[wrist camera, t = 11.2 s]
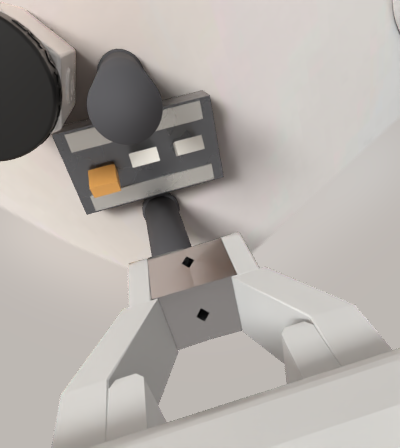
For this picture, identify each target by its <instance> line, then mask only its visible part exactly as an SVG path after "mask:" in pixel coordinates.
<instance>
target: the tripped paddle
mask: <svg viewBox="0 0 400 448" xmlns="http://www.w3.org/2000/svg"><path fill="white" fill-rule="evenodd" d="M88 177H89V188H90V190H91V192H92V194H93V196H94V198H97V197H100V196H104V195H108V194H111V193H115V192H119V191H121V186H120V181H119V175H118V172H117V169H116V167H115V164H110V165H107V166H103V167H99V168H95V169H92V170H88Z"/></svg>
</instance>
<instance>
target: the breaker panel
mask: <svg viewBox="0 0 400 448" xmlns="http://www.w3.org/2000/svg"><path fill="white" fill-rule="evenodd" d="M162 105H163V113H162V119H161V122H160V124H159V126H158V128H157V130H156V131H155V132H154V133H153V135H151V136H150V137H149V138H148V139H146V140H145V141H143V142H140V143H137V144H133V145H122V144H117V143H114V142H112V141H110V140H108V139H106V138H105V137H103V136H102V135H101V134H100V133H99V132H98V131H97V130H96V129H95V127H94V126H93V124H92V122H91V120H90V119H86V120H82V121H78V122H74V123H70V124H66V125H63V127H62V128H61V130H59V131H57V132H55V133H53V134H52V136H53V139H54V141H55V143H56V146H57V148H58V150H59V152H60V155H61V157H62V159H63V162H64V164H65V166H66V168H67V171H68V173H69V175H70V177H71V180H72V182H73V184H74V187H75V189H76V191H77V193H78V196H79V198H80V200H81V203H82V205H83V207H84V209H85V212H86V214H87V215H88V214H91V213H95V212H98V211H102V210H106V209H109V208H113V207H117V206H120V205H124V204H127V203H131V202H135V201H138V200H142V199H146V198H149V197H153V196H156V195H160V194H164V193H167V192H171V191H175V190H178V189H182V188H185V187H189V186H193V185H196V184H200V183H204V182H207V181H211V180H214V179H218V178H222V177H223V171H222V165H221V160H220V154H219V148H218V142H217V136H216V130H215V124H214V118H213V112H212V106H211V101H210V95H208V94H207V93H205V92H204V91H198V92H194V93H190V94H186V95H182V96H178V97H174V98H170V99H166V100H162ZM198 135H202V139H203V143H204V147H205V149H202V150H198V151H195V152H191V153H187V154H183V155H180V156H176V154H175V150H174V146H173V143H174V142H175V141H179V140H183V139H187V138H191V137H195V136H198ZM153 147H156V148H157V151H158V155H159V158H160V161H157V162H153V163H150V164H146V165H142V166H138V167H135V168H133V167H132V164H131V160H130V157H129V154H130V153H134V152H137V151H141V150H145V149H149V148H153ZM110 164H115V167H116V169H117V172H118V175H119V181H120V186H121V191H119V192H115V193H111V194H108V195H104V196H100V197H97V198H94V196H93V194H92V192H91V190H90V188H89V177H88V170H92V169H95V168H99V167H103V166H107V165H110Z"/></svg>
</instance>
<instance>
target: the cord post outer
mask: <svg viewBox="0 0 400 448" xmlns="http://www.w3.org/2000/svg"><path fill="white" fill-rule="evenodd" d="M142 209H143V215H144V218H145V220H146V223H147V229H148V235H149V241H150V247H151V253H152V257H154V256H158V255H161V254H165V253H169V252H172V251H176V250H180V249H185V248H189V247H191V244H190V241H189V238H188V235H187V233H186V230H185V227H184V224H183V221H182V219H181V216H180V213H179V205H178V202H177V200H176V198H175V197H174V196H173V195H172V194H170V193H168V192H167V193H164V194H160V195H156V196H153V197H149V198H146V199H145V201H144V203H143V207H142Z"/></svg>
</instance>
